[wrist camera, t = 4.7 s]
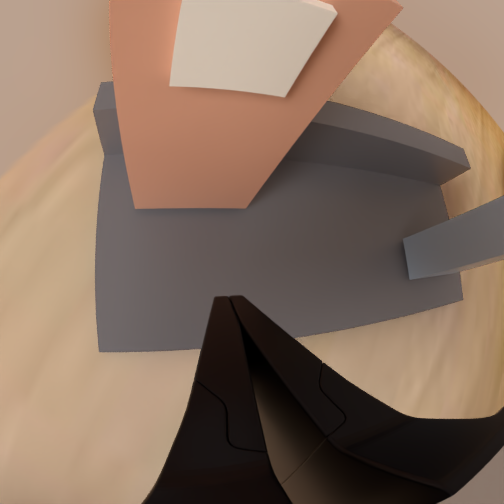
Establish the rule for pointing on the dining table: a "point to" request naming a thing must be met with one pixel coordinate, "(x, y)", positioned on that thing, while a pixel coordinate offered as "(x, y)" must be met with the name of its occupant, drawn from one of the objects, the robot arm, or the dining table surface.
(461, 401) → the dining table surface
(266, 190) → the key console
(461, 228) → the slate key
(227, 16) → the terracotta key
